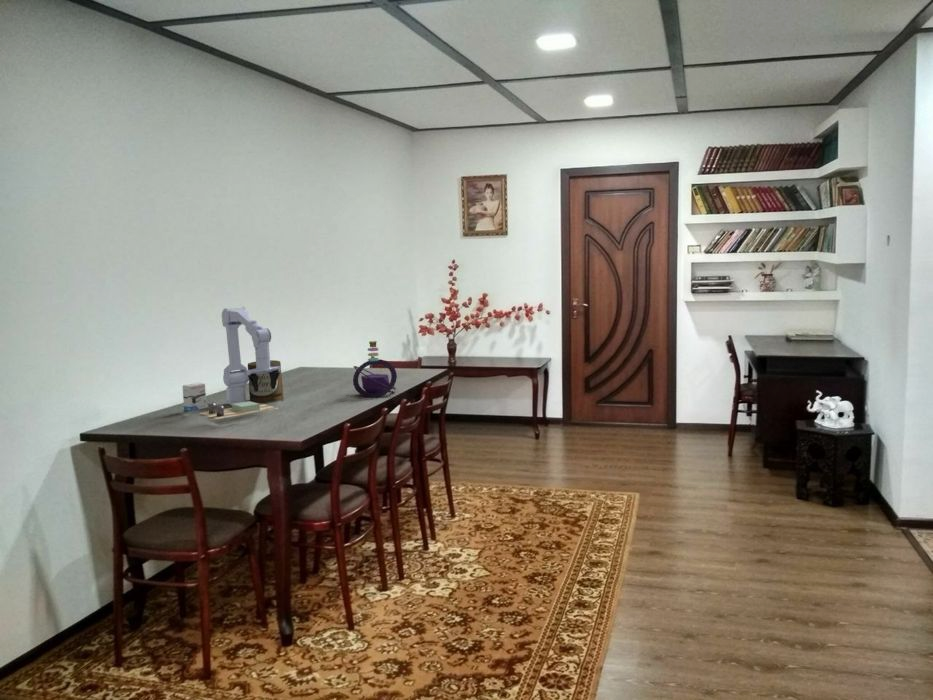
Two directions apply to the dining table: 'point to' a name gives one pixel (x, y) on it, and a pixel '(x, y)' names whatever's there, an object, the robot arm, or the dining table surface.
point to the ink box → (194, 396)
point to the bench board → (230, 412)
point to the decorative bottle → (374, 377)
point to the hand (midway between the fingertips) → (264, 390)
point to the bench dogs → (216, 409)
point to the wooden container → (266, 386)
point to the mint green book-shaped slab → (245, 406)
